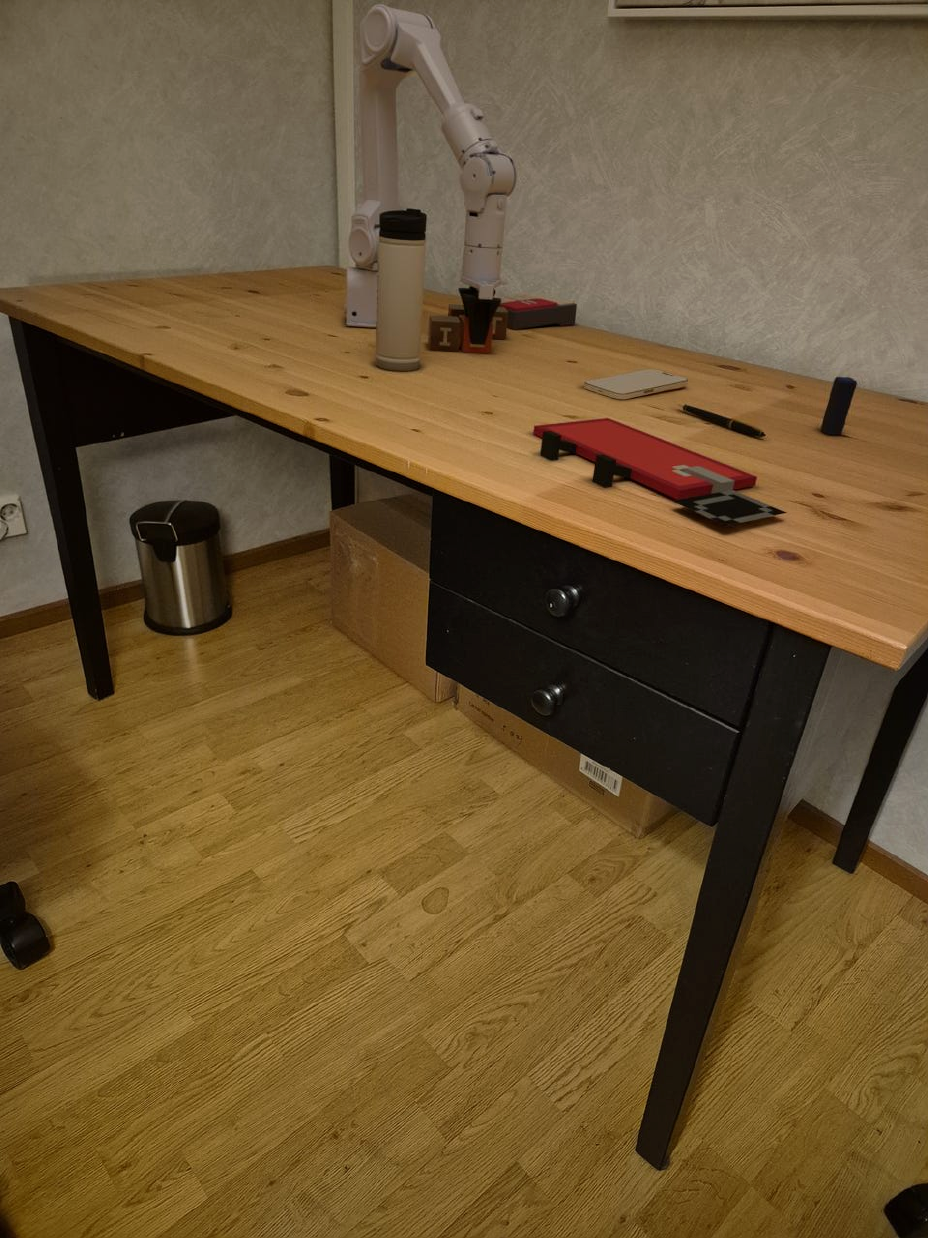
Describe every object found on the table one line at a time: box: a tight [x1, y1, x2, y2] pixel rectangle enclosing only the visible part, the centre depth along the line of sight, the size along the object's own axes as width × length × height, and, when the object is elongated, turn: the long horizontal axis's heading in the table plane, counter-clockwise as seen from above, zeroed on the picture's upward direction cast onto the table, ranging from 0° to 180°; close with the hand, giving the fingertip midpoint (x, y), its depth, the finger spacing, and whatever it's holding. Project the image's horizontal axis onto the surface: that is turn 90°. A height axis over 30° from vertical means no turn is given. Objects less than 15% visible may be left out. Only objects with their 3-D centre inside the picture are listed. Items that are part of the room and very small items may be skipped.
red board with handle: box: [532, 417, 788, 527], centre depth 89 cm, size 30×3×15 cm
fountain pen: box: [676, 403, 767, 438], centre depth 107 cm, size 14×1×2 cm, turn 36°
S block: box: [459, 317, 493, 354], centre depth 133 cm, size 4×4×4 cm
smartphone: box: [583, 368, 689, 400], centre depth 120 cm, size 7×1×15 cm
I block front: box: [427, 314, 461, 353], centre depth 133 cm, size 4×4×4 cm
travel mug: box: [374, 207, 428, 372], centre depth 117 cm, size 6×7×20 cm
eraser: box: [820, 376, 858, 437], centre depth 106 cm, size 2×2×7 cm
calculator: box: [493, 292, 578, 330], centre depth 157 cm, size 11×4×15 cm
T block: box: [491, 307, 508, 341], centre depth 143 cm, size 4×4×4 cm
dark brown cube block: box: [447, 303, 465, 332], centre depth 143 cm, size 4×4×4 cm
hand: (475, 340), depth 134 cm, fingers closed on S block, 4 cm apart
